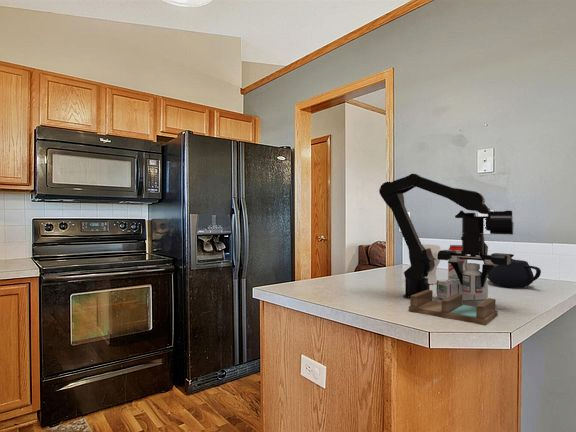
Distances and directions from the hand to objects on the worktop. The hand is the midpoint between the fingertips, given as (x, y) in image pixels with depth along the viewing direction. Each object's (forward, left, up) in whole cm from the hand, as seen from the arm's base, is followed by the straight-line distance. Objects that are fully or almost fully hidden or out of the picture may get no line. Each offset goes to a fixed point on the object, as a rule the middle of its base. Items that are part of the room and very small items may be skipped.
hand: (472, 285), depth 107 cm
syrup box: (0, +12, -3) cm, 12 cm away
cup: (-24, +28, -6) cm, 37 cm away
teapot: (+1, +45, -6) cm, 45 cm away
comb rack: (-1, -15, -5) cm, 16 cm away
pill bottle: (0, 0, -2) cm, 3 cm away
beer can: (-10, +20, -6) cm, 23 cm away
